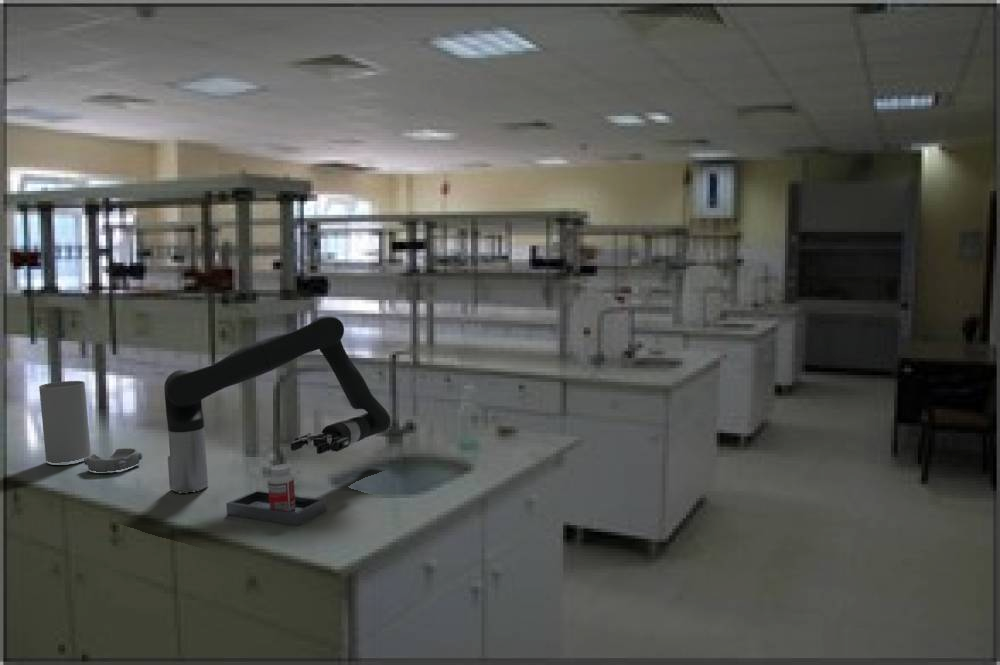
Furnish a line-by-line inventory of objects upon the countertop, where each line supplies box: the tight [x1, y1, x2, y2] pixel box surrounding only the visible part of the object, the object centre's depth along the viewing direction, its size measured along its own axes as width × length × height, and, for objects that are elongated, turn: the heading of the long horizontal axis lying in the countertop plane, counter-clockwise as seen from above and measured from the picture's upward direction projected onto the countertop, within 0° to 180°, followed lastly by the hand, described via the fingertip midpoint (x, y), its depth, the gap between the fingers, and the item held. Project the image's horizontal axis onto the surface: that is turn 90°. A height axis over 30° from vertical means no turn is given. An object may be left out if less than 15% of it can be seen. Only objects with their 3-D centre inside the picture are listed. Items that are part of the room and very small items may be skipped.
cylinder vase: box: [38, 380, 92, 463], centre depth 237 cm, size 12×12×25 cm
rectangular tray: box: [225, 489, 327, 527], centre depth 187 cm, size 22×11×3 cm, turn 67°
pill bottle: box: [267, 463, 296, 511], centre depth 186 cm, size 6×6×11 cm
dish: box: [83, 447, 143, 472], centre depth 229 cm, size 14×14×5 cm
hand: (304, 448), depth 197 cm, fingers open, 8 cm apart
